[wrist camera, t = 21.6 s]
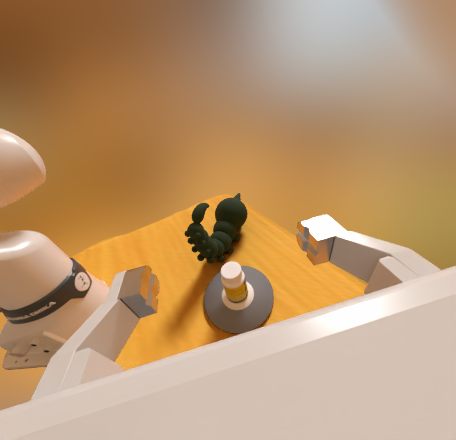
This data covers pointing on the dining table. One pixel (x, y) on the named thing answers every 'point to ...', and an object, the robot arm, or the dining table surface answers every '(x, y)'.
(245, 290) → the supplement bottle
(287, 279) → the dining table surface
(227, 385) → the robot arm
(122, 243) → the dining table surface
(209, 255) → the toy figurine
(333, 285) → the dining table surface
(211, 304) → the charcoal plate
